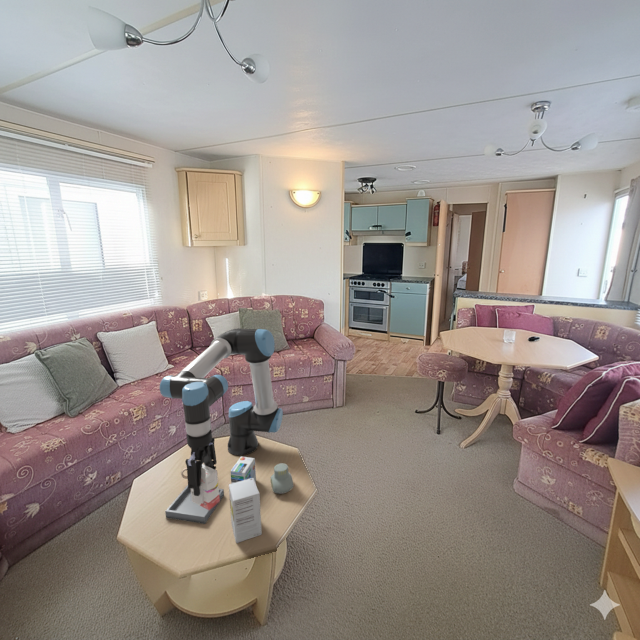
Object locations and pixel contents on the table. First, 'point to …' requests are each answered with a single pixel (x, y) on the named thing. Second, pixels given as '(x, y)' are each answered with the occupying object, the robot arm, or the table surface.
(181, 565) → the table surface
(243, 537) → the supplement box
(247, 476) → the light bulb box
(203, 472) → the ink cartridge box
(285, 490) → the air freshener
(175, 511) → the tray
